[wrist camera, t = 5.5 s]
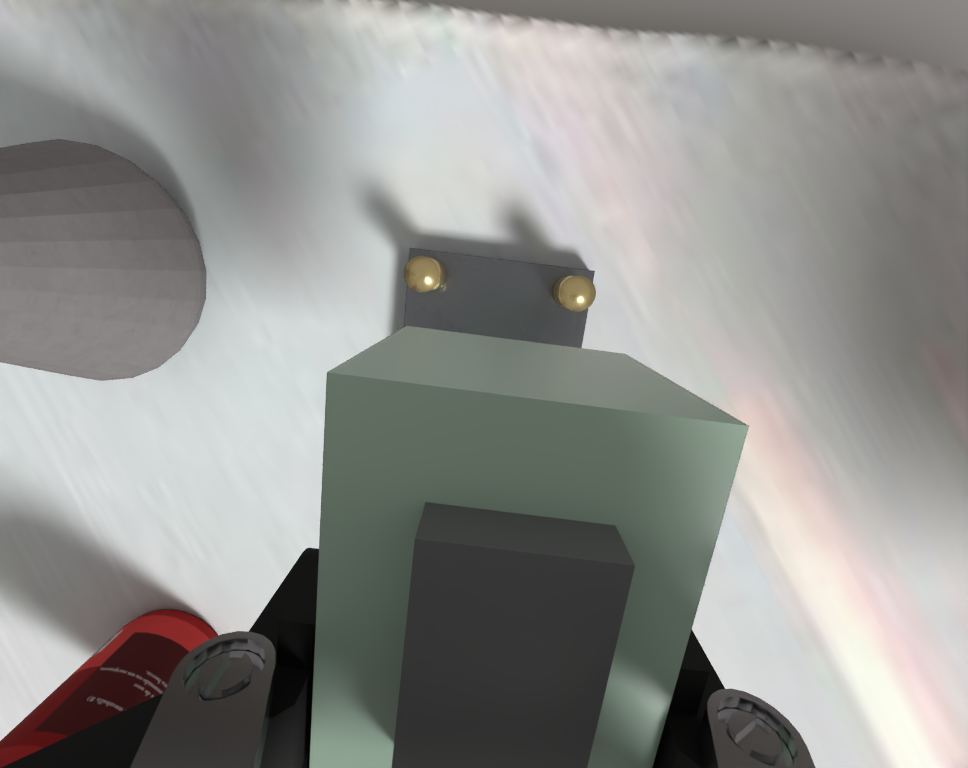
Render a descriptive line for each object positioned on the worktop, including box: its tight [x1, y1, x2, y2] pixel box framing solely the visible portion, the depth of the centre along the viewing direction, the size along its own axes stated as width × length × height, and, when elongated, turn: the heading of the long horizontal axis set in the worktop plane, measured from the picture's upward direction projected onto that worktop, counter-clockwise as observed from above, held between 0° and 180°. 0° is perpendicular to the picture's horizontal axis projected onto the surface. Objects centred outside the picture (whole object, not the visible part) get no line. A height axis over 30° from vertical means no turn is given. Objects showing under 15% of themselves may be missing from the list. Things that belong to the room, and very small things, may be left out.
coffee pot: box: [0, 139, 206, 381], centre depth 19 cm, size 21×12×15 cm, turn 178°
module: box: [309, 326, 749, 768], centre depth 8 cm, size 5×11×6 cm, turn 173°
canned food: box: [0, 610, 217, 768], centre depth 26 cm, size 8×8×11 cm
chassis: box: [404, 248, 596, 348], centre depth 24 cm, size 10×16×4 cm, turn 173°
